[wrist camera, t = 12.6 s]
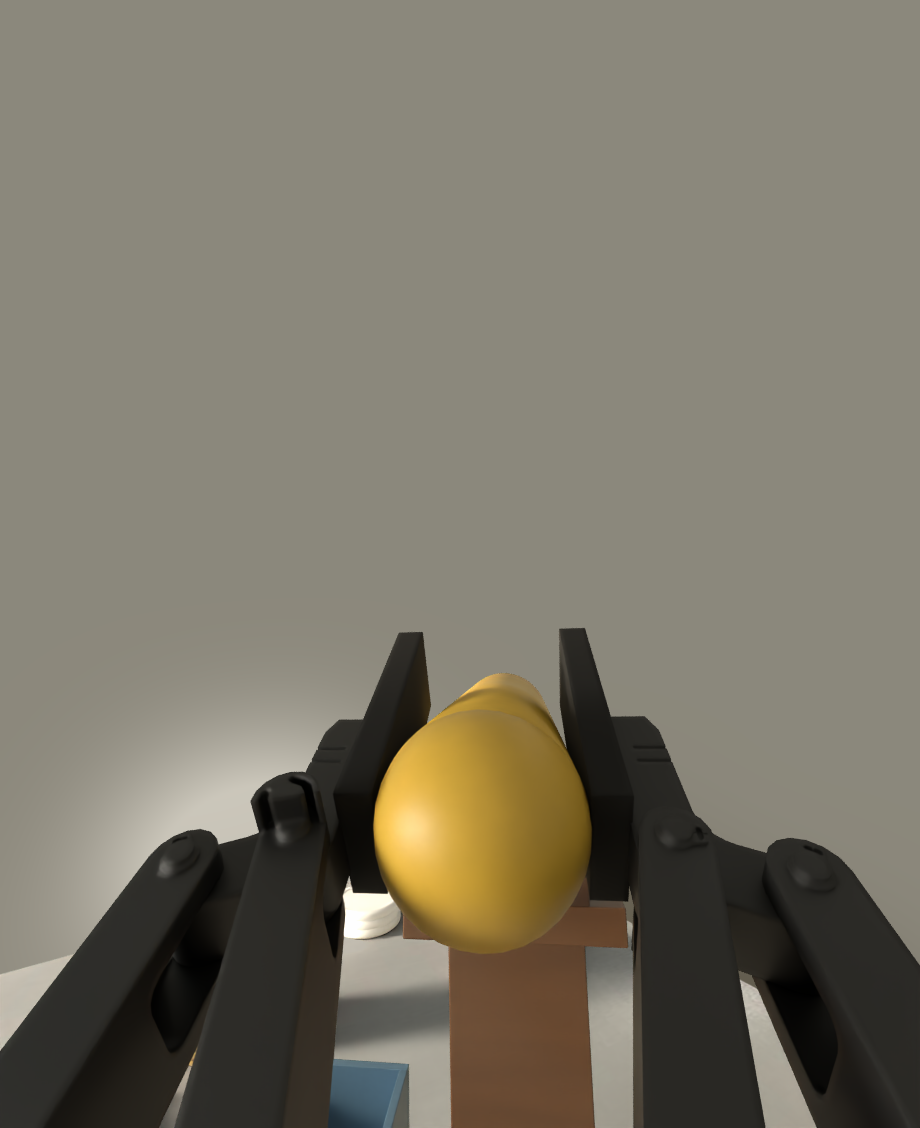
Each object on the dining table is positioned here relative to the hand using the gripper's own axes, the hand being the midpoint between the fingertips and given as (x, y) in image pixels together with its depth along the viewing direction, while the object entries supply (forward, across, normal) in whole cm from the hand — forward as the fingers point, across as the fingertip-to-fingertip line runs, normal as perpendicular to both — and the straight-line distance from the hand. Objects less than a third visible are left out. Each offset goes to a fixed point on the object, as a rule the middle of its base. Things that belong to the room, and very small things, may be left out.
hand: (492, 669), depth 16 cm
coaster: (+37, -23, -66) cm, 79 cm away
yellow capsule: (+1, 0, -4) cm, 4 cm away
